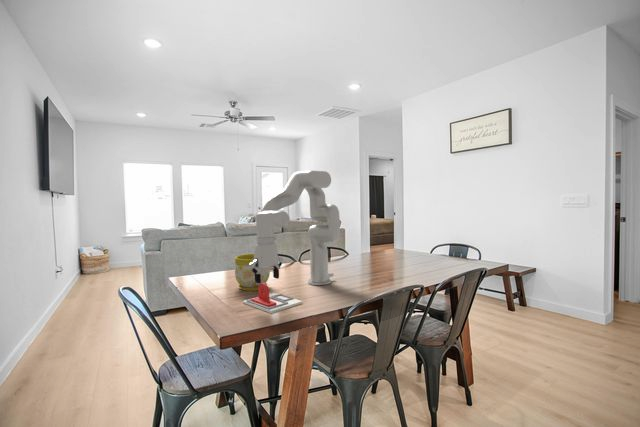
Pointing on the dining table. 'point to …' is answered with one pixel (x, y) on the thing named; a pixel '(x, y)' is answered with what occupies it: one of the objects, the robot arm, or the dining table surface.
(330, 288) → the dining table surface
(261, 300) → the bracket
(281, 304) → the fitting board
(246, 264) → the flowerpot
